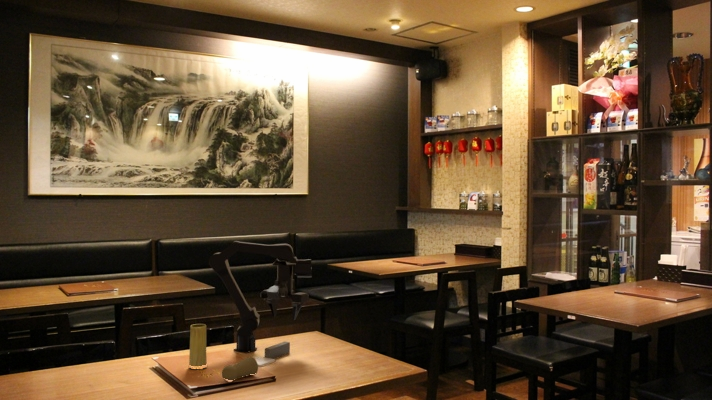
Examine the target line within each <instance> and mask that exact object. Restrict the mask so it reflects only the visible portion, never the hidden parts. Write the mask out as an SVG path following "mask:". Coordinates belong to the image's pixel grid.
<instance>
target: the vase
mask: <svg viewBox="0 0 712 400" xmlns="http://www.w3.org/2000/svg"><path fill="white" fill-rule="evenodd" d="M189 335H190V336H189V356H188V357H189V358H188V361H189V362H188V366H189V365H191V366H202V365H206V364H207V365H208V363H207V362H208V361H207V325H206V324H205V323H195V324H194V323H193V324H191V325H190V334H189Z"/></svg>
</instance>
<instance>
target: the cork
mask: <svg viewBox="0 0 712 400" xmlns="http://www.w3.org/2000/svg"><path fill="white" fill-rule="evenodd" d="M254 358H255V357H253V356H247V357H245V358H243V359H242V360H239V361H238V362H237V363H235V364H232V365H231V364H227V365H225V366H224V367H223V369H222V371H221V377H222V379H223V378H225V379H228V380H234V379H236V380H237V379H239V378H238V377H241V378H243V377H242V376H246V375H250V374H255V373H256V374H257V373H258V371H259V367H258V364H257V362H256V360H255V359H254ZM256 374H255V375H256ZM246 377H247V376H246ZM234 381H235V380H234Z"/></svg>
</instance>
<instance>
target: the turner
mask: <svg viewBox="0 0 712 400" xmlns="http://www.w3.org/2000/svg"><path fill="white" fill-rule="evenodd" d="M290 343H291V342H288V341H282V342H279V343H277V344H276V343H275V344H274V345H272V346H271V345H270V346H268V347H265V348H264V357H263V356H257V357H253V358H254V359H255V360H256V362H257V364H258V368H262V367H264V366H265V367H266V366H267V365H270V364H272V363H275V362H276V359H278V358H280V357H282V356H286V355H288V354H290V350H291V349H290V346H291V345H290Z"/></svg>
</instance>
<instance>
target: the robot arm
mask: <svg viewBox="0 0 712 400" xmlns="http://www.w3.org/2000/svg"><path fill="white" fill-rule="evenodd" d="M236 253H247V254H253V255H254V254H255V255H265V256H270V257H272V258H276V259H275V260H274V262H273V263H272V266H273V267H274V266H276V267H277V268H276V269H277V270H276V271H277V272H276V273H277V274H276V275H277V277H276V280H274V285H273V286H270V287H269V288H268V289H264V290H262V291H261V292H260V298H261V299H263V301H265V302H266V303H267V304H268V306H269V308H270V311H271V314H272V317H273V318H276V317H277V313H278V303H279V300H280V299H289V300H290V299H291V301H292V302H291V305H292V320H293V321H295V320H296V319H297V317H298V315H299V312H300V310H301V308H302V307H303V305H304V304H306V303H307V302H308V301H310V296H309V294H308V292H296V293H295V290H294V289H293V283H295V279H293V274H294V275H295V276H296V277H297V278H313V267H312V259H311V258H310V259H309V258H308V259H298V258H297V256H295V254H294V249H293V246H291V244H288V243H275V244H263V243H255V242H246V241H239V240H234V241H233V242H231V243H230V244H229V245H228V246H227V247H225V248H224V249H223V250H222V251H220V252H215V253H214V254H212V255H211V256H210V258H209V260H208V265H209V266H210V267H211V269H212V270H213V272H214V273H215V274H216V275H217V276H218V277H219V278H220V279H221V280H222V282H223V285H225V288H226V290H227V292H228V294H229V296H230V298H231V299H232V301H233V302H234V305H235V306H236V309H237V310H238V314H239V318H240V322H241V324H240V325H239V326H238V328H237V330H236V345H235V346H236V347H235V348H233V351H234V352H235V351H236V352H239V353H246V354H247V353H250V352H253V351H256V350H258V347H256V335H255V333H254V331H256V330H257V328H258V326H259V324H260V316H261V315H260V314H259V313H258V312H257V309H256V306H253V307H251V306H250V305H249V304H248V302H247V300H246V299H245V296H244V294H243V292H242V291H241V289H240V287H239V285H238V283H237V282H236V280H235V278H234V276H233V274H232V272H231V268H230V264H229V259H230V258H231V257H232V256H234V254H236ZM293 268H294V269H293Z"/></svg>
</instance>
